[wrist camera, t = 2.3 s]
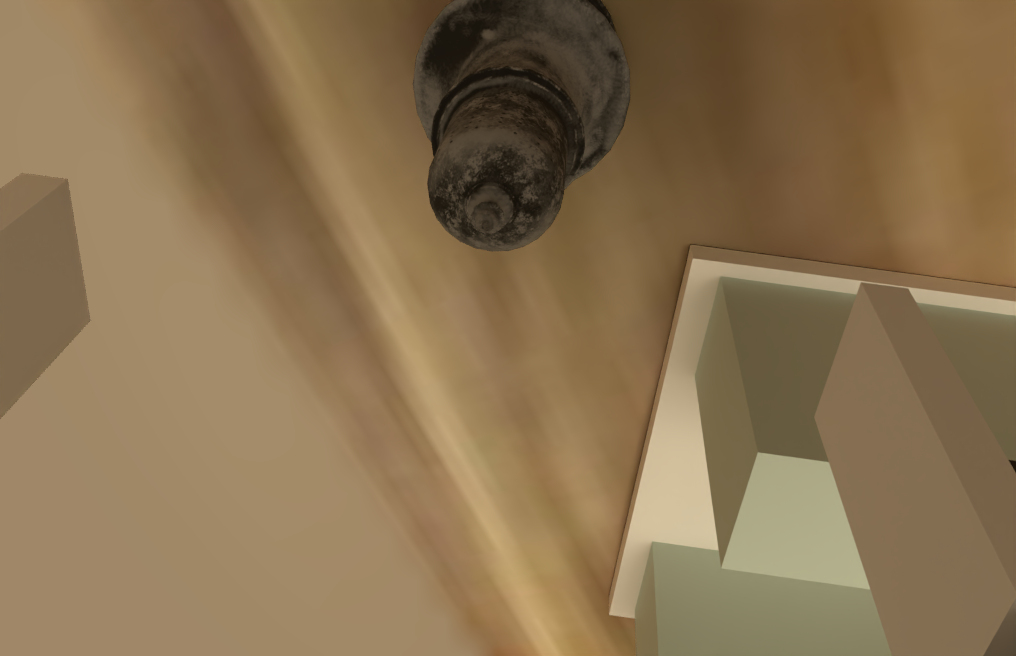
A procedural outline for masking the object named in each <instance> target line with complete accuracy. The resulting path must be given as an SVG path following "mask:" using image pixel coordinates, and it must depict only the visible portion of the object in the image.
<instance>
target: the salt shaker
mask: <svg viewBox="0 0 1016 656" xmlns="http://www.w3.org/2000/svg"><path fill="white" fill-rule="evenodd" d="M413 88H414V95H415V102H416V109H417V113H418V116H419V118H420V120H421V123H422V125H423V127H424V130H425V132H426V134H427V137H428V138H429V140H430V141H431V142H432V149H433V156H434V159H433V161H432V163H431V166H430V169H429V176H428V183H427V184H428V191H429V198H430V204H431V207H432V209H433V211H434V213H435V216H436V218H437V220H438V221H439V222H440V223H441V224H442V226H443V227H444V228H445V229H446V231H447V232H449V233H450V234H451V235H452V236H454V237H455V238H456V239H458V240H459V241H460V242H463V243H465V244H467V245H469V246H472V247H474V248H477V249H482V250H487V251H509V250H513V249H517V248H520V247H524V246H526V245H527V244H529V243H531V242H533V241H534V240H536V239H538V238H539V237H540V236H541V235H542V234H543V233H544V232H545V231H546V230H547V229H548V228H549V227H550V226H551V224H552V223H553V221H554V219H555V217H556V216H557V214H558V212H559V210H560V208H561V203H562V199H563V194H564V190H565V189H566V188H567V187H568V186H569V185H570V184H571V183H572V181H574V180H575V179H577V178H579V177H580V176H582V175H583V174H585V173H587V172H588V171H590V170H592V168H593V167H594V166H595V165H596V164H597V163H598V162H599V161H600V160H601V159H602V158H603V157H604V156H605V155H606V154H607V153H608V152H609V151H610V150H611V148H612V146H613V144H614V142H615V141H616V139H617V137H618V135H619V133H620V132H621V130H622V128H623V126H624V122H625V118H626V114H627V110H628V106H629V102H630V71H629V67H628V63H627V60H626V56H625V53H624V50H623V46H622V43H621V41H620V39H619V38H618V36H617V34H616V32H615V29H614V26H613V22H612V19H611V16H610V14H609V12H608V11H607V9H606V8H605V6H604V4H603V3H602V1H601V0H454V1H452V2H451V3H449V4H448V5H447V6H445V8H444V9H443V10H442V11H441V13H440V14H439V15H438V17H437V18H436V19H435V20H434V22H433V23H432V24H431V26H430V27H429V28H428V29H427V31H426V34H425V36H424V39H423V41H422V44H421V46H420V49H419V51H418V54H417V56H416V63H415V72H414V80H413Z"/></svg>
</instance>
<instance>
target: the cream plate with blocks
mask: <svg viewBox="0 0 1016 656" xmlns="http://www.w3.org/2000/svg"><path fill="white" fill-rule="evenodd" d="M861 282H862V283H870V284H878V285H886V286H893V287H901V288H908V289H909V291H910V293H911V294H912V296H913V298H914V300H915V301H916V303H917V305H918V306H919V308H920V310H921V311H922V313H923V315H924V317H925V318H926V320H927V322H928V323H929V325H930V327H931V329H932V330H933V332H934V334H935V335H936V337H937V339H938V341H939V342H940V344H941V346H942V347H943V349H944V351H945V353H946V354H947V356H948V358H949V359H950V361H951V363H952V365H953V366H954V368H955V370H956V371H957V373H958V375H959V376H960V378H961V380H962V382H963V383H964V385H965V387H966V388H967V390H968V392H969V394H970V395H971V397H972V399H973V400H974V402H975V404H976V406H977V407H978V409H979V411H980V412H981V414H982V416H983V418H984V419H985V421H986V423H987V424H988V426H989V428H990V430H991V431H992V433H993V435H994V436H995V438H996V440H997V441H998V443H999V445H1000V447H1001V448H1002V450H1003V452H1004V453H1005V455H1006V457H1007V459H1008V460H1014V461H1016V288H1012V287H1005V286H997V285H990V284H982V283H975V282H967V281H960V280H953V279H945V278H938V277H930V276H923V275H915V274H908V273H900V272H893V271H885V270H878V269H870V268H863V267H855V266H848V265H840V264H833V263H825V262H818V261H810V260H803V259H795V258H788V257H780V256H773V255H765V254H758V253H750V252H743V251H735V250H728V249H720V248H713V247H705V246H698V245H690V249H689V254H688V258H687V262H686V266H685V271H684V275H683V279H682V284H681V288H680V292H679V297H678V301H677V305H676V310H675V314H674V318H673V323H672V327H671V331H670V335H669V340H668V344H667V348H666V353H665V357H664V361H663V366H662V370H661V374H660V379H659V383H658V387H657V392H656V396H655V400H654V405H653V409H652V413H651V417H650V422H649V426H648V430H647V435H646V439H645V443H644V448H643V452H642V456H641V461H640V465H639V469H638V474H637V478H636V482H635V486H634V491H633V495H632V499H631V504H630V508H629V512H628V517H627V521H626V525H625V530H624V534H623V538H622V543H621V547H620V551H619V556H618V560H617V564H616V568H615V573H614V577H613V581H612V586H611V590H610V594H609V615H614V616H620V617H627V618H634V619H635V638H636V656H892V654H891V651H890V648H889V645H888V642H887V639H886V636H885V633H884V630H883V626H882V623H881V620H880V617H879V614H878V611H877V608H876V605H875V602H874V599H873V596H872V593H871V590H870V587H869V584H868V581H867V577H866V574H865V571H864V568H863V565H862V562H861V559H860V556H859V553H858V550H857V547H856V544H855V541H854V538H853V535H852V531H851V528H850V525H849V522H848V519H847V516H846V513H845V510H844V507H843V504H842V501H841V498H840V495H839V492H838V489H837V485H836V482H835V479H834V476H833V473H832V470H831V467H830V464H829V461H828V458H827V455H826V452H825V449H824V446H823V443H822V440H821V436H820V433H819V430H818V427H817V424H816V421H815V418H814V416H815V413H816V410H817V407H818V404H819V401H820V399H821V396H822V393H823V390H824V387H825V384H826V381H827V378H828V376H829V373H830V370H831V367H832V364H833V361H834V358H835V355H836V353H837V350H838V347H839V344H840V341H841V338H842V335H843V332H844V330H845V327H846V324H847V321H848V318H849V315H850V312H851V309H852V306H853V304H854V301H855V298H856V295H857V292H858V289H859V286H860V283H861Z"/></svg>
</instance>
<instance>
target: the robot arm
mask: <svg viewBox="0 0 1016 656" xmlns="http://www.w3.org/2000/svg"><path fill="white" fill-rule="evenodd" d="M89 322H90V315H89V309H88V302H87V296H86V290H85V284H84V278H83V271H82V265H81V260H80V253H79V247H78V240H77V234H76V228H75V222H74V216H73V209H72V203H71V197H70V191H69V184H68V179H63V178H55V177H48V176H40V175H32V174H25V173H22V174H20V175H19V176H17V177H16V178H15V179H13V180H12V181H10V182H9V183H8V184H6V185H5V186H3V187H2V188H0V419H1V418H2V417H3V416H4V415H5V413H6V412H7V411H8V410H9V409H10V408H11V407H12V406H13V405H14V404H15V402H16V401H17V400H18V399H19V398H20V397H21V396H22V395H23V394H24V393H25V392H26V390H27V389H28V388H29V387H30V386H31V385H32V384H33V383H34V382H35V381H36V380H37V378H38V377H39V376H40V375H41V374H42V373H43V372H44V371H45V370H46V368H48V366H49V365H50V364H51V363H52V362H53V361H54V360H55V359H56V358H57V356H59V354H60V353H61V352H62V351H63V350H64V349H65V348H66V347H67V346H68V345H69V343H70V342H71V341H72V340H73V339H74V338H75V337H76V336H77V335H78V334H79V333H80V331H81V330H82V329H83V328H84V327H85V326H86V325H87V324H88V323H89ZM814 418H815V421H816V424H817V427H818V430H819V433H820V436H821V440H822V443H823V446H824V449H825V452H826V455H827V458H828V461H829V464H830V467H831V470H832V473H833V476H834V479H835V482H836V485H837V489H838V492H839V495H840V498H841V501H842V504H843V507H844V510H845V513H846V516H847V519H848V522H849V525H850V528H851V531H852V535H853V538H854V541H855V544H856V547H857V550H858V553H859V556H860V559H861V562H862V565H863V568H864V571H865V574H866V577H867V581H868V584H869V587H870V590H871V593H872V596H873V599H874V602H875V605H876V608H877V611H878V614H879V617H880V620H881V623H882V626H883V630H884V633H885V636H886V639H887V642H888V645H889V648H890V651H891V654H892V656H1016V461H1014V460H1008V459H1007V457H1006V455H1005V453H1004V452H1003V450H1002V448H1001V447H1000V445H999V443H998V441H997V440H996V438H995V436H994V435H993V433H992V431H991V430H990V428H989V426H988V424H987V423H986V421H985V419H984V418H983V416H982V414H981V412H980V411H979V409H978V407H977V406H976V404H975V402H974V400H973V399H972V397H971V395H970V394H969V392H968V390H967V388H966V387H965V385H964V383H963V382H962V380H961V378H960V376H959V375H958V373H957V371H956V370H955V368H954V366H953V365H952V363H951V361H950V359H949V358H948V356H947V354H946V353H945V351H944V349H943V347H942V346H941V344H940V342H939V341H938V339H937V337H936V335H935V334H934V332H933V330H932V329H931V327H930V325H929V323H928V322H927V320H926V318H925V317H924V315H923V313H922V311H921V310H920V308H919V306H918V305H917V303H916V301H915V300H914V298H913V296H912V294H911V293H910V291H909V289H908V288H901V287H893V286H886V285H878V284H870V283H862V282H861V283H860V286H859V289H858V292H857V295H856V298H855V301H854V304H853V306H852V309H851V312H850V315H849V318H848V321H847V324H846V327H845V330H844V332H843V335H842V338H841V341H840V344H839V347H838V350H837V353H836V355H835V358H834V361H833V364H832V367H831V370H830V373H829V376H828V378H827V381H826V384H825V387H824V390H823V393H822V396H821V399H820V401H819V404H818V407H817V410H816V413H815V416H814Z"/></svg>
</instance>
